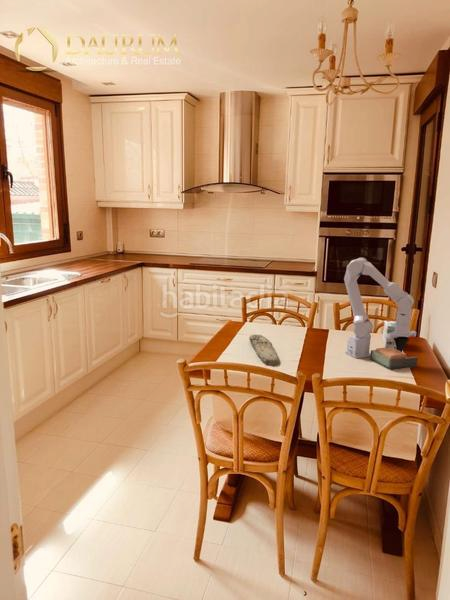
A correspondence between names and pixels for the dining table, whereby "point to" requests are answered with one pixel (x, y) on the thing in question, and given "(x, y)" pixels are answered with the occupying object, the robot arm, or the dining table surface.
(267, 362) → the elongated rock
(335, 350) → the dining table surface
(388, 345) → the light bulb box
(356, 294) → the robot arm
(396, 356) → the slab
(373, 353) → the roller bed
